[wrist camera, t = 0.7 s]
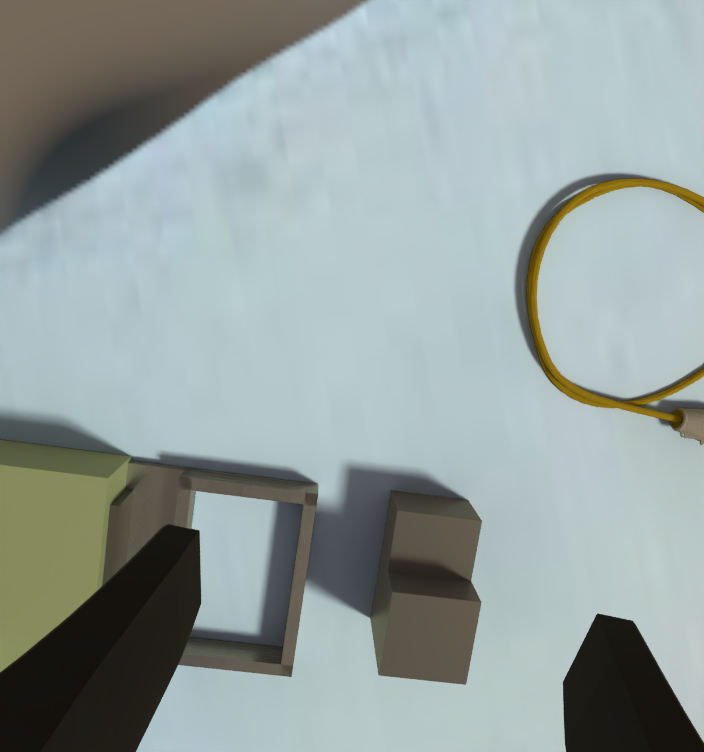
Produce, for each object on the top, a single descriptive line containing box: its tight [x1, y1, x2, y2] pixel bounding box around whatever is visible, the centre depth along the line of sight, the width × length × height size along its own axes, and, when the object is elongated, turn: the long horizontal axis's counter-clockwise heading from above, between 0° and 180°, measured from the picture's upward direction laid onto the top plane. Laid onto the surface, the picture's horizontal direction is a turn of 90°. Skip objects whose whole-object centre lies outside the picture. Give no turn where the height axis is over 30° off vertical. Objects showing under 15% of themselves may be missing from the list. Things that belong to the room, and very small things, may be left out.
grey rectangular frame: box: [125, 460, 318, 677], centre depth 32 cm, size 10×9×2 cm
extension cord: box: [527, 178, 704, 445], centre depth 31 cm, size 12×16×2 cm
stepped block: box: [370, 490, 482, 685], centre depth 31 cm, size 7×4×5 cm, turn 172°
